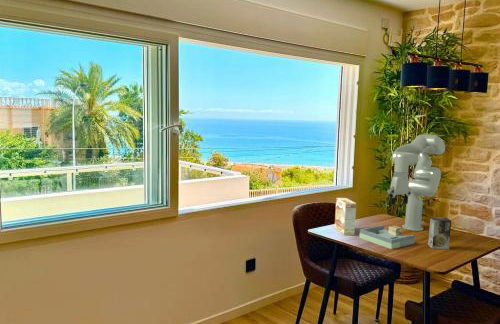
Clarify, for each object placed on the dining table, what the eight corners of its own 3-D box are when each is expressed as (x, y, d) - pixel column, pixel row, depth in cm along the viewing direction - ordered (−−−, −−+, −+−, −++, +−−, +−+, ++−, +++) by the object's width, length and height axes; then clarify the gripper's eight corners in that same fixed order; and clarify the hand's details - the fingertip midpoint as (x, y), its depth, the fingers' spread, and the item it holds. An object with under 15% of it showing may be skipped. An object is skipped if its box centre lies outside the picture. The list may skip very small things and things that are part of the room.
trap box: (382, 233, 239) (382, 225, 239) (414, 243, 221) (415, 235, 220) (359, 237, 229) (360, 229, 228) (391, 249, 210) (391, 240, 210)
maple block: (393, 232, 232) (394, 225, 231) (401, 234, 228) (401, 227, 227) (388, 233, 229) (388, 226, 229) (395, 235, 225) (396, 228, 224)
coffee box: (444, 245, 219) (447, 217, 217) (449, 249, 213) (452, 220, 211) (427, 244, 220) (430, 216, 218) (431, 248, 214) (434, 219, 212)
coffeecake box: (334, 228, 247) (335, 197, 244) (344, 228, 248) (346, 197, 246) (343, 235, 232) (345, 203, 230) (354, 235, 233) (356, 203, 231)
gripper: (407, 173, 234) (405, 201, 237) (384, 174, 228) (382, 203, 230) (417, 175, 227) (415, 204, 230) (393, 176, 221) (391, 206, 223)
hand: (398, 203), depth 230 cm, fingers open, 9 cm apart
